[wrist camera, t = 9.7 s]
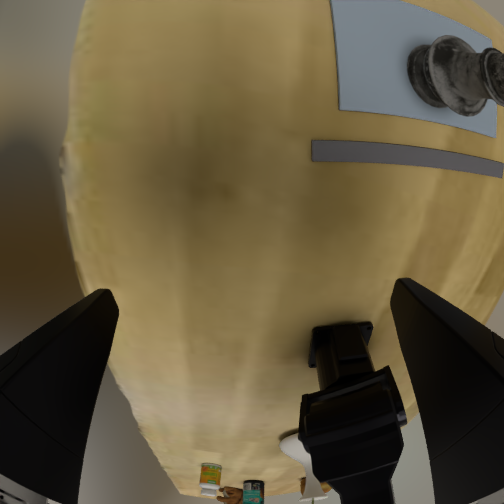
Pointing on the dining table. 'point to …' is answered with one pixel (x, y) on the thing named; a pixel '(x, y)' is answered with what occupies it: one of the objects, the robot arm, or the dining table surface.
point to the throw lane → (397, 82)
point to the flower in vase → (297, 452)
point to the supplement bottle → (210, 479)
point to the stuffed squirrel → (231, 496)
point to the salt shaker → (456, 75)
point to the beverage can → (253, 492)
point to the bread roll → (324, 485)
